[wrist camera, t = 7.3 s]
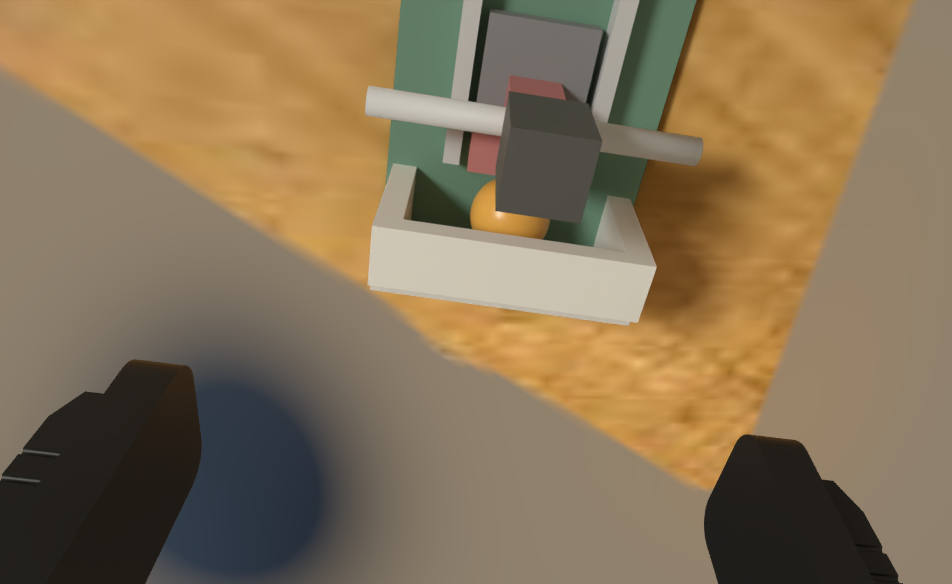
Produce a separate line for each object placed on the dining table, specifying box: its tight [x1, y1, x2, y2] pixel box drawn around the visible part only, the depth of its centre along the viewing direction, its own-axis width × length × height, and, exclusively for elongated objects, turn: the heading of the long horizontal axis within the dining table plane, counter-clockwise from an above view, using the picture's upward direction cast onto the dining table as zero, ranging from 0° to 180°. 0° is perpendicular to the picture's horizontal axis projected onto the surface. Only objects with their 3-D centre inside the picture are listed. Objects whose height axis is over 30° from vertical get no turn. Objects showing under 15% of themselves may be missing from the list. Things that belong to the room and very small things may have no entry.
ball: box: [470, 179, 550, 240], centre depth 34 cm, size 4×4×4 cm
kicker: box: [365, 8, 703, 224], centre depth 27 cm, size 6×14×11 cm, turn 81°
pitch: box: [386, 0, 697, 247], centre depth 31 cm, size 22×13×2 cm, turn 171°
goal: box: [368, 163, 657, 326], centre depth 33 cm, size 4×12×7 cm, turn 81°
